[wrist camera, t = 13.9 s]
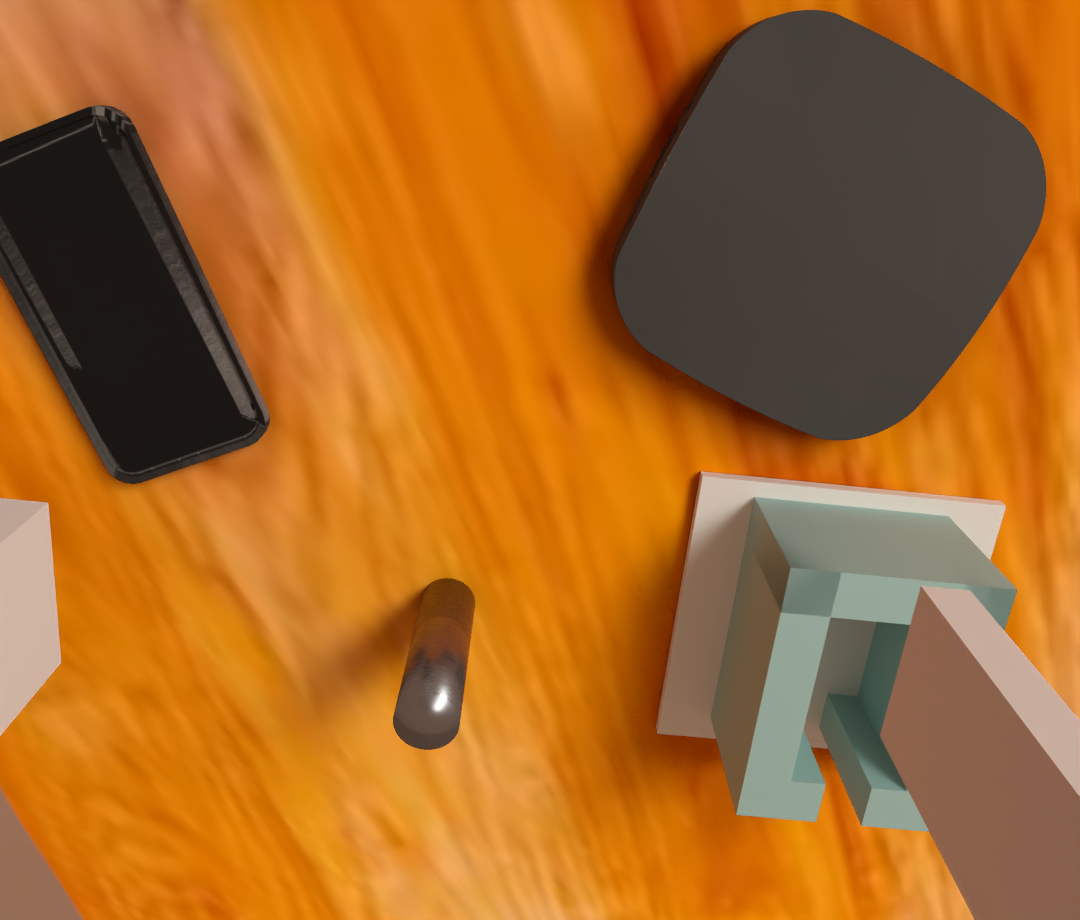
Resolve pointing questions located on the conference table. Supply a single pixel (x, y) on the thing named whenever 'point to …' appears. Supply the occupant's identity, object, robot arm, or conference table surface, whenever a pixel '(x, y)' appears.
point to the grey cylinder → (436, 667)
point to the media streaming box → (827, 226)
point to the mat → (716, 577)
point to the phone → (120, 298)
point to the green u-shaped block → (798, 639)
